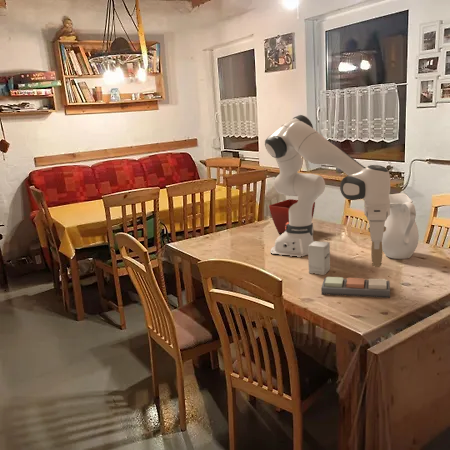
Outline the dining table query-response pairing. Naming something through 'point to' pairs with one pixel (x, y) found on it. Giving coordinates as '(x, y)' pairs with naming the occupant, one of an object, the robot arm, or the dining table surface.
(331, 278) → the key sage
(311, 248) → the supplement box
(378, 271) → the dining table surface
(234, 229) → the dining table surface
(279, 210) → the plant pot
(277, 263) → the dining table surface
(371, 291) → the keypad
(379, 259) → the handle
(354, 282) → the key terracotta
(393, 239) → the pitcher
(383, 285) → the key offwhite
